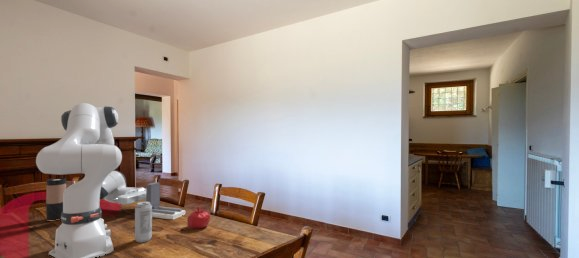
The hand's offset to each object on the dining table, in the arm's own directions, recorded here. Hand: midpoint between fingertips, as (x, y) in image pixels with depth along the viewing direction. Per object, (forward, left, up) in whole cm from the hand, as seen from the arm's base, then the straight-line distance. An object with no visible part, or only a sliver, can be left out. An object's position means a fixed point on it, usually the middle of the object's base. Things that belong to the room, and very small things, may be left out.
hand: (148, 197), depth 145 cm
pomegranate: (-38, -7, -9) cm, 40 cm away
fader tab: (-2, -1, -6) cm, 7 cm away
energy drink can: (-35, +16, -9) cm, 40 cm away
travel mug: (+25, +34, -9) cm, 43 cm away
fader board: (-8, -4, -8) cm, 12 cm away
